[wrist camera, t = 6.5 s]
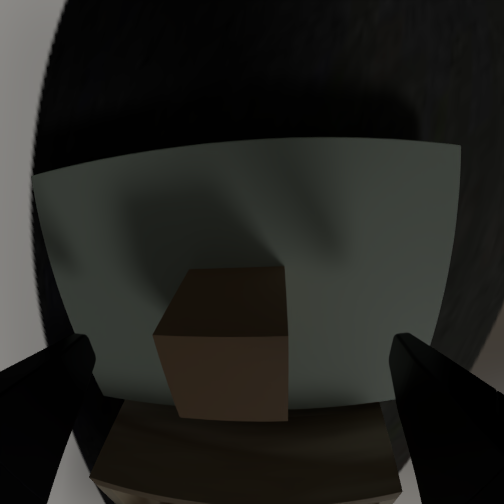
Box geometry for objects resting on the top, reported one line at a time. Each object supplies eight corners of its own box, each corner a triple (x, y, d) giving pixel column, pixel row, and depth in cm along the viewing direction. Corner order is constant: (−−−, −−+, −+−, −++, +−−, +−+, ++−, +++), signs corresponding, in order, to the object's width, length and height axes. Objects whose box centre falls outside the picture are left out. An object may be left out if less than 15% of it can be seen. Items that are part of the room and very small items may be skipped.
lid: (398, 363, 14) (434, 456, 8) (120, 365, 15) (75, 447, 10) (428, 140, 10) (534, 161, 4) (66, 166, 11) (-39, 201, 6)
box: (349, 476, 18) (356, 542, 12) (169, 473, 19) (152, 534, 14) (377, 397, 14) (402, 491, 9) (127, 395, 16) (89, 477, 10)
